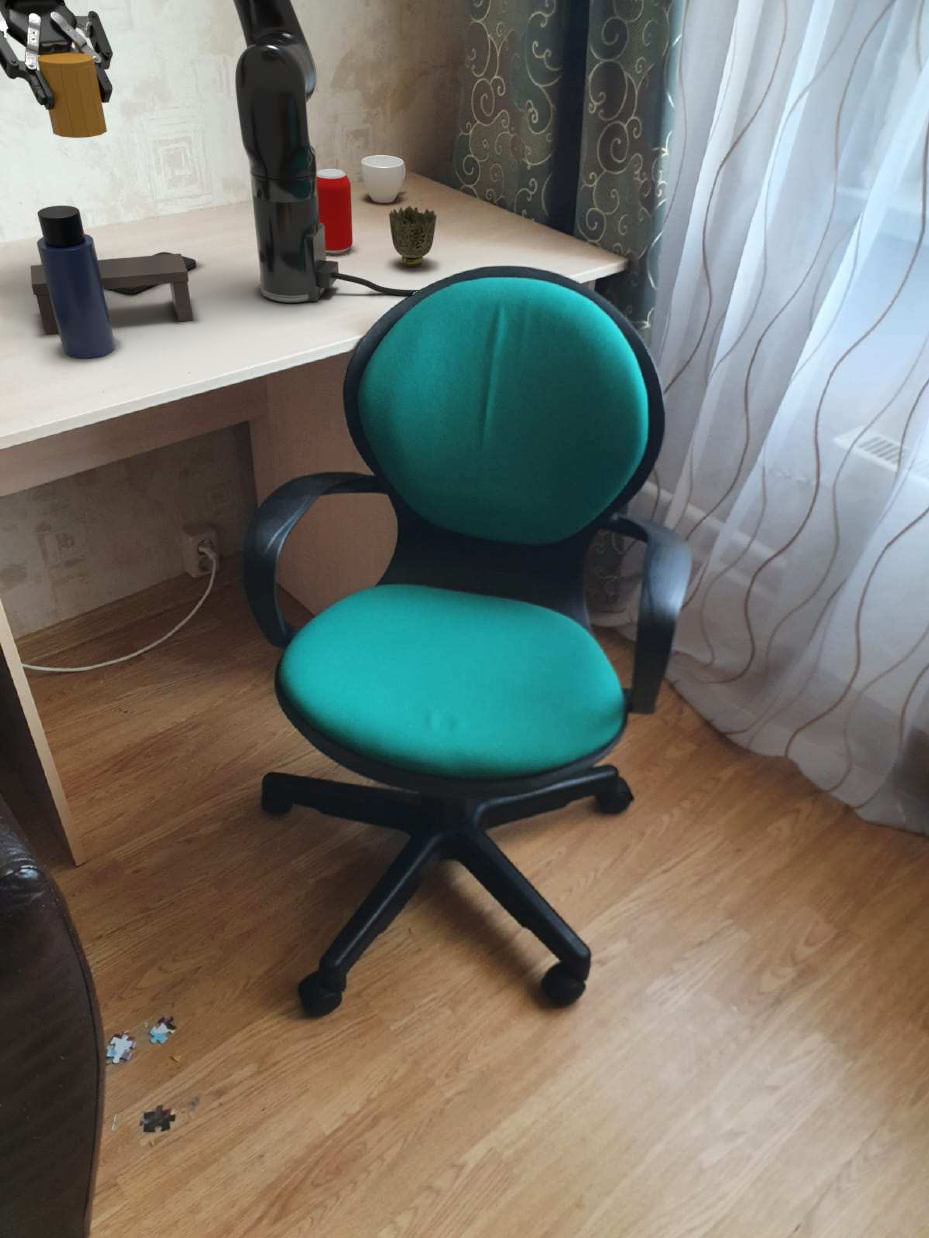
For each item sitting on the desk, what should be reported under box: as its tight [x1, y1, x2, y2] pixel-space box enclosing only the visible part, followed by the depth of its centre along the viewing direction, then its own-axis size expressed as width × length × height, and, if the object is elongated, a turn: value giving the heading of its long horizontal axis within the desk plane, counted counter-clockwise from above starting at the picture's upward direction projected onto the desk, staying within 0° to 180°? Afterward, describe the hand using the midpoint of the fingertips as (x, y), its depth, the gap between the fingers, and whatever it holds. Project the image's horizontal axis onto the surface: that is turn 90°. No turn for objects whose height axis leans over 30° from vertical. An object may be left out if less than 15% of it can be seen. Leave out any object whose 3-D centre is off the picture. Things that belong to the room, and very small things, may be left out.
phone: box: [112, 251, 197, 294], centre depth 146 cm, size 7×1×15 cm
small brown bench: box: [30, 253, 194, 336], centre depth 132 cm, size 20×7×7 cm, turn 110°
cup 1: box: [360, 154, 407, 204], centre depth 177 cm, size 8×10×7 cm
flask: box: [36, 205, 116, 360], centre depth 121 cm, size 7×7×18 cm
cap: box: [37, 52, 108, 139], centre depth 116 cm, size 6×6×8 cm
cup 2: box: [388, 205, 437, 268], centre depth 152 cm, size 8×7×8 cm
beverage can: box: [317, 168, 354, 255], centre depth 154 cm, size 6×6×12 cm
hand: (79, 102), depth 115 cm, fingers closed on cap, 6 cm apart
